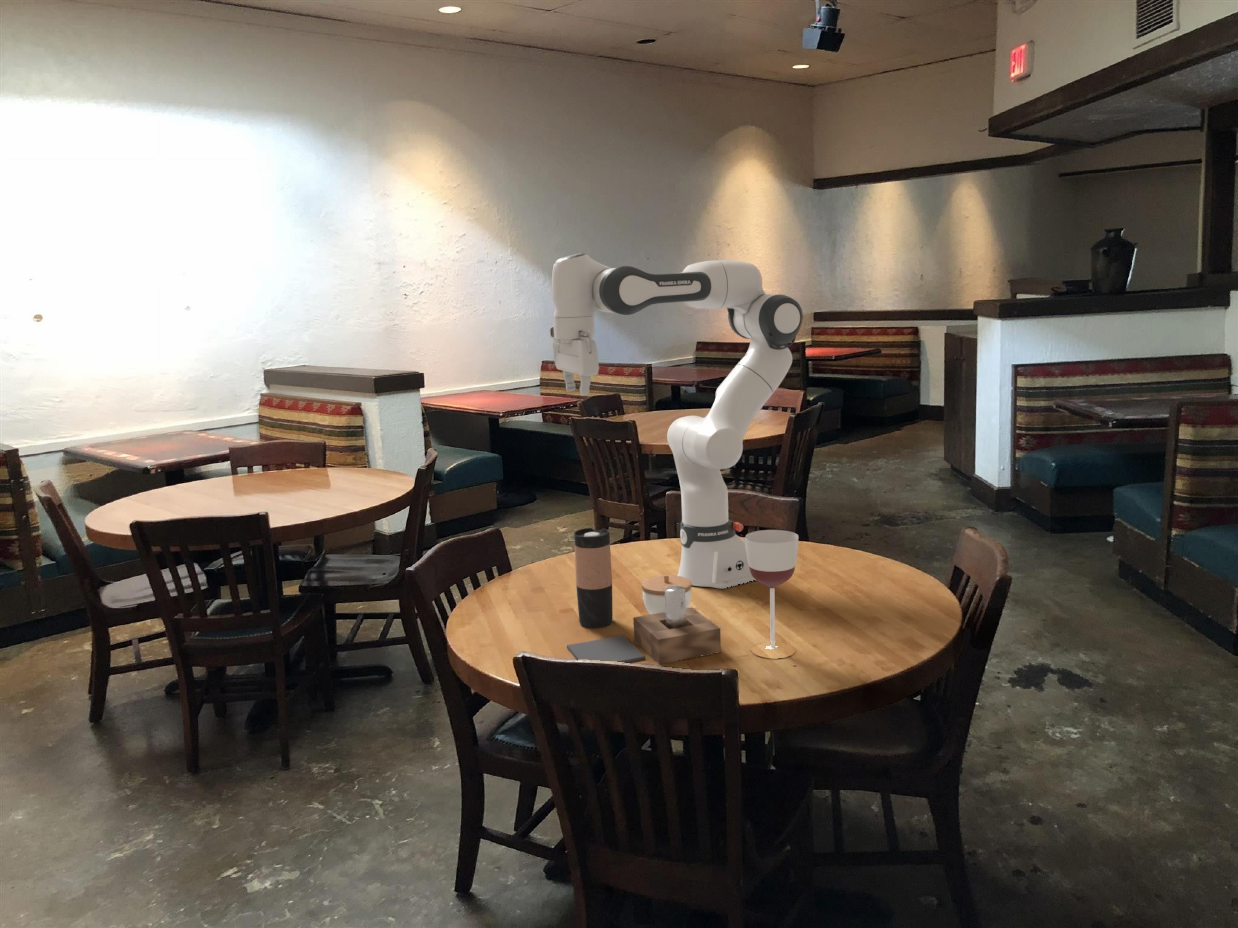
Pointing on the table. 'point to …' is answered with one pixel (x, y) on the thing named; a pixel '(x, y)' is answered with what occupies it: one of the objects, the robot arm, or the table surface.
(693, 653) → the block
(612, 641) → the mat
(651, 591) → the lidded jar
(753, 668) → the table surface
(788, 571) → the wineglass
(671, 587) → the peg
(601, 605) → the travel mug
